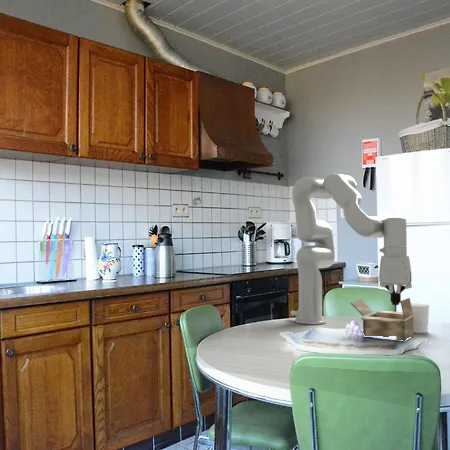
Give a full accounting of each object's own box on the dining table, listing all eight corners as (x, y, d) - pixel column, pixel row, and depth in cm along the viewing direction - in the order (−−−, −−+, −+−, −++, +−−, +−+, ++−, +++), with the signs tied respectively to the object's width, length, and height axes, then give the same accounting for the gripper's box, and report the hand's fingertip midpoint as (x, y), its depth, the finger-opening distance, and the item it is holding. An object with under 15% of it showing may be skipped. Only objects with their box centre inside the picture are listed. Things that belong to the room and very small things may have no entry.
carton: (358, 339, 161) (358, 317, 161) (377, 330, 179) (377, 310, 180) (400, 344, 153) (400, 321, 154) (416, 334, 171) (416, 313, 172)
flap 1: (362, 315, 166) (350, 303, 169) (372, 312, 175) (360, 300, 178) (363, 314, 166) (351, 302, 169) (373, 311, 175) (361, 299, 178)
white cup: (431, 334, 172) (431, 306, 173) (408, 333, 174) (408, 305, 174) (426, 330, 180) (426, 303, 180) (404, 329, 182) (404, 303, 182)
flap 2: (404, 319, 158) (400, 301, 159) (412, 315, 167) (408, 298, 168) (405, 318, 158) (401, 301, 159) (413, 314, 167) (409, 297, 168)
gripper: (370, 251, 167) (370, 304, 166) (415, 252, 159) (415, 307, 158) (377, 251, 173) (377, 301, 173) (420, 252, 165) (420, 305, 164)
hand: (395, 304), depth 165 cm, fingers closed
